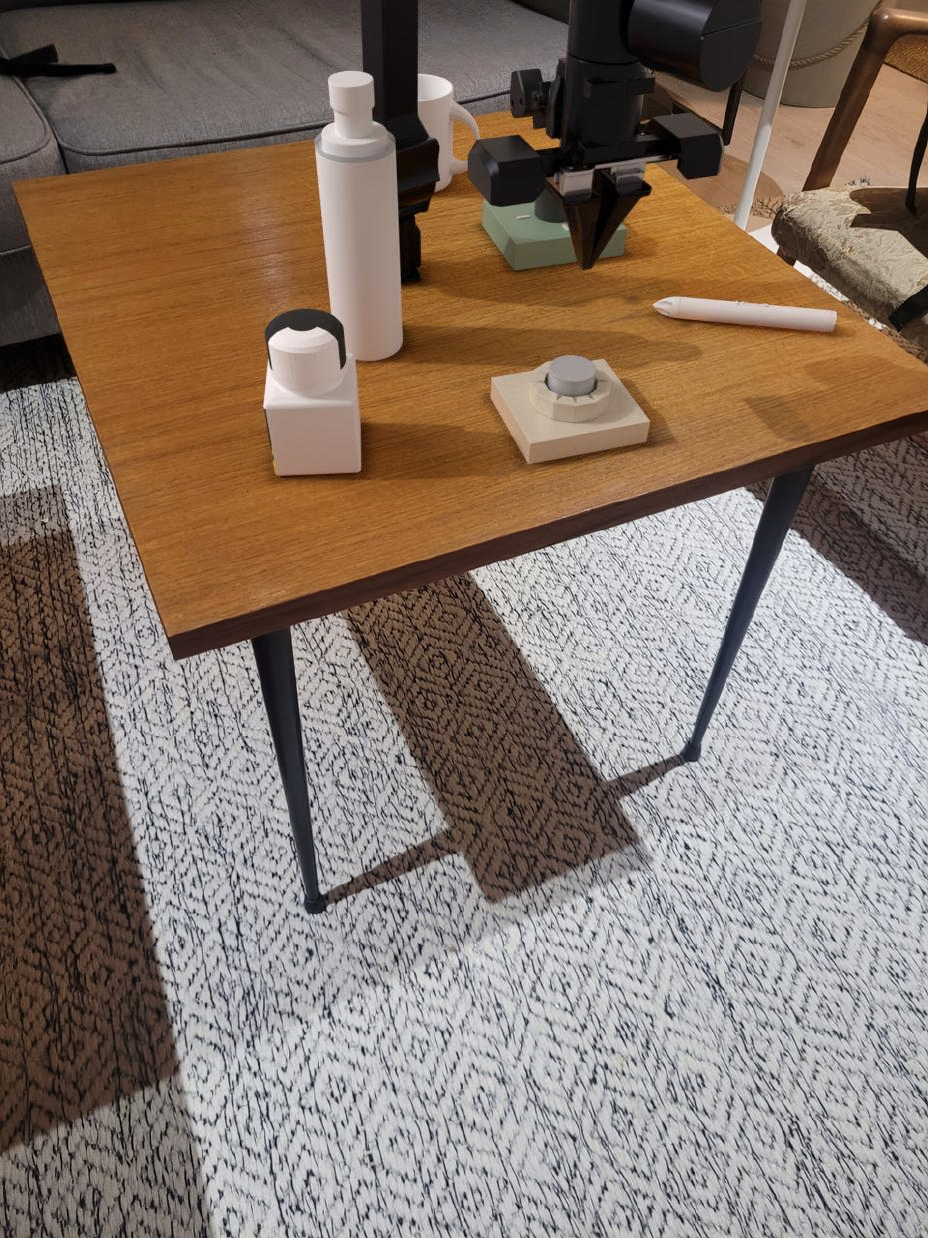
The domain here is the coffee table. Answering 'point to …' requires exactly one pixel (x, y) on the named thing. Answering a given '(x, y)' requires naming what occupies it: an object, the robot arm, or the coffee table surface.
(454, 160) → the mug
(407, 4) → the robot arm
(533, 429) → the button housing
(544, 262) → the dial panel
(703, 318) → the marker
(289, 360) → the medicine bottle
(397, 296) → the white bottle
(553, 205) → the dial
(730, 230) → the coffee table surface
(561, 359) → the gray button cap
